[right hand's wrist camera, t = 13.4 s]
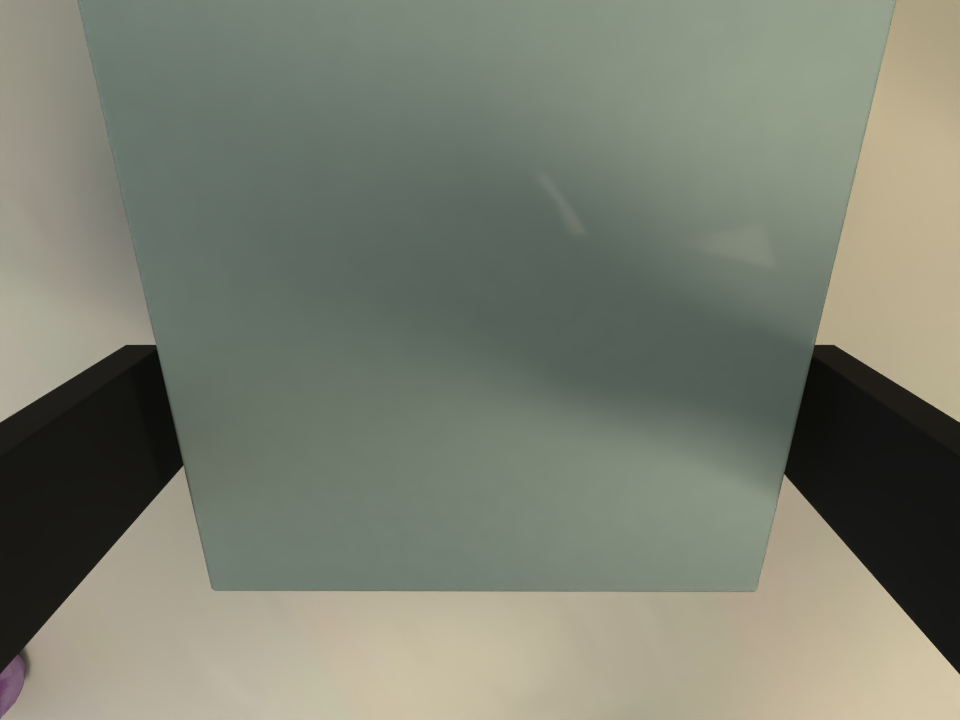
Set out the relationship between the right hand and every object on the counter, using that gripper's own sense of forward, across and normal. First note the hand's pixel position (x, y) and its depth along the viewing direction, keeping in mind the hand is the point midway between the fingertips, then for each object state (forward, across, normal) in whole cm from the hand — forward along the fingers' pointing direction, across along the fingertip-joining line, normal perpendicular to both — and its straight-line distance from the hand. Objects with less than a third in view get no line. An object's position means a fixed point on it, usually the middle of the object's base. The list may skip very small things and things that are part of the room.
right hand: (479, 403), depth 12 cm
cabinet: (+7, 0, -7) cm, 10 cm away
